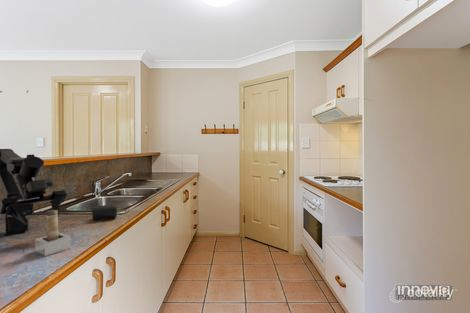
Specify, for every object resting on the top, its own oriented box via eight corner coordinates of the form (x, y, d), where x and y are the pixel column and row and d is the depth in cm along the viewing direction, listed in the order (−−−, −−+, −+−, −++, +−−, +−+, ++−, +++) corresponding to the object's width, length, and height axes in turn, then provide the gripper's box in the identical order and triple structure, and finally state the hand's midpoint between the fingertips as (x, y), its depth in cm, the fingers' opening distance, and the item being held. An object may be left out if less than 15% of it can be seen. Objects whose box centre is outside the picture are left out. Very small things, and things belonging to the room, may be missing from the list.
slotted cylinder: (45, 251, 79) (43, 212, 78) (51, 247, 82) (50, 209, 81) (55, 251, 79) (53, 212, 79) (60, 247, 82) (59, 209, 82)
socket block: (35, 251, 79) (35, 239, 79) (60, 243, 85) (60, 232, 85) (45, 256, 76) (44, 243, 75) (70, 248, 82) (70, 236, 82)
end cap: (92, 222, 109) (92, 208, 109) (92, 219, 115) (92, 204, 115) (117, 219, 114) (116, 205, 114) (115, 215, 120) (115, 202, 120)
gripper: (-2, 174, 79) (12, 213, 73) (63, 169, 94) (79, 200, 89) (-7, 195, 83) (5, 233, 78) (55, 186, 99) (69, 217, 94)
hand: (42, 219), depth 85 cm, fingers open, 9 cm apart
